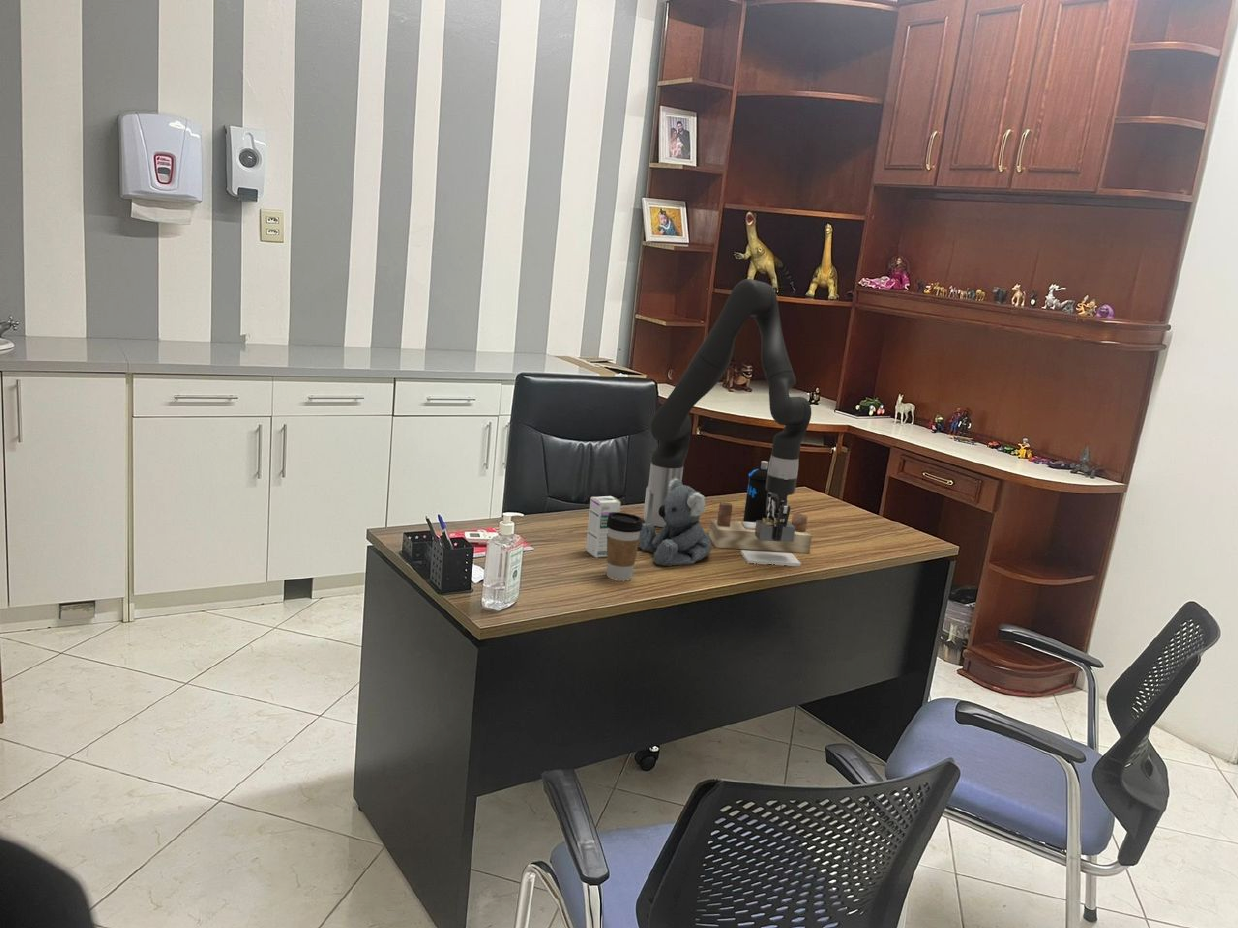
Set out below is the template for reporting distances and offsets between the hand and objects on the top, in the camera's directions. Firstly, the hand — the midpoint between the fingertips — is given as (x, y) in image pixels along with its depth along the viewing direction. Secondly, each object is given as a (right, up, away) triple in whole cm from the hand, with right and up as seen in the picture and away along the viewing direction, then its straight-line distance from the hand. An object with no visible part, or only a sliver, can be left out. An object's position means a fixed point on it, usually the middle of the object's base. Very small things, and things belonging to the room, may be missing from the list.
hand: (773, 536), depth 248 cm
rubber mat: (-1, -6, +1) cm, 6 cm away
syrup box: (-45, -4, -7) cm, 46 cm away
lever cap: (0, 0, 0) cm, 1 cm away
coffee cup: (-40, -8, -22) cm, 47 cm away
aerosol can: (-1, 0, +28) cm, 28 cm away
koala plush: (-25, -5, -3) cm, 26 cm away
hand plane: (-2, -3, +13) cm, 14 cm away
